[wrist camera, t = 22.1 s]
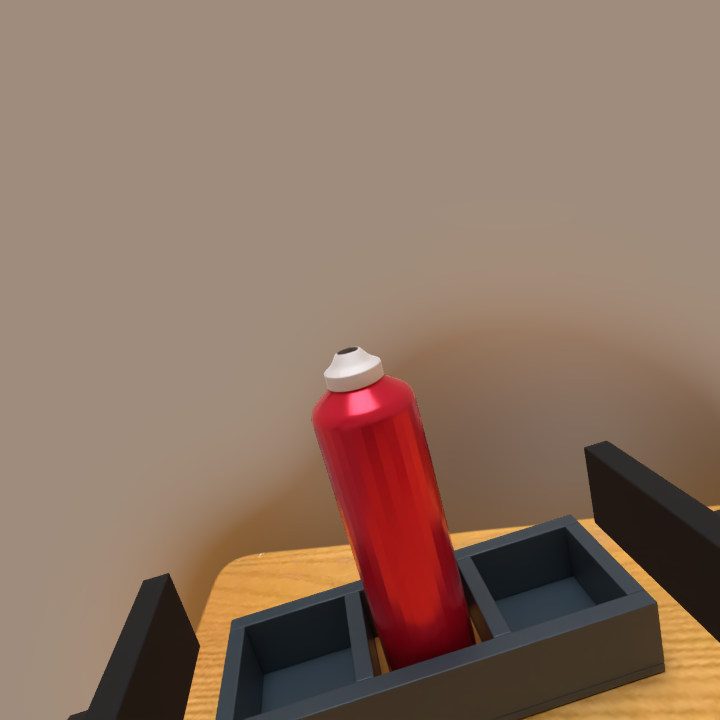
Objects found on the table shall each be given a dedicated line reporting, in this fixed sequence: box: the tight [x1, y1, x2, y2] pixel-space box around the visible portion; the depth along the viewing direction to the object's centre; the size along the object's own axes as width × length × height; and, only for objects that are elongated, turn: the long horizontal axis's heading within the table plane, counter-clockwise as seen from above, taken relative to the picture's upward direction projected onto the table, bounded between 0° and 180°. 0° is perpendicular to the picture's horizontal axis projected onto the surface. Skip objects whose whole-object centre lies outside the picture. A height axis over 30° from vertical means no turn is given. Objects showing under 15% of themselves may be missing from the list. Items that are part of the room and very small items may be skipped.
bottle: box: [312, 346, 477, 672], centre depth 28 cm, size 5×5×20 cm
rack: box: [216, 515, 665, 720], centre depth 30 cm, size 8×24×5 cm, turn 97°
